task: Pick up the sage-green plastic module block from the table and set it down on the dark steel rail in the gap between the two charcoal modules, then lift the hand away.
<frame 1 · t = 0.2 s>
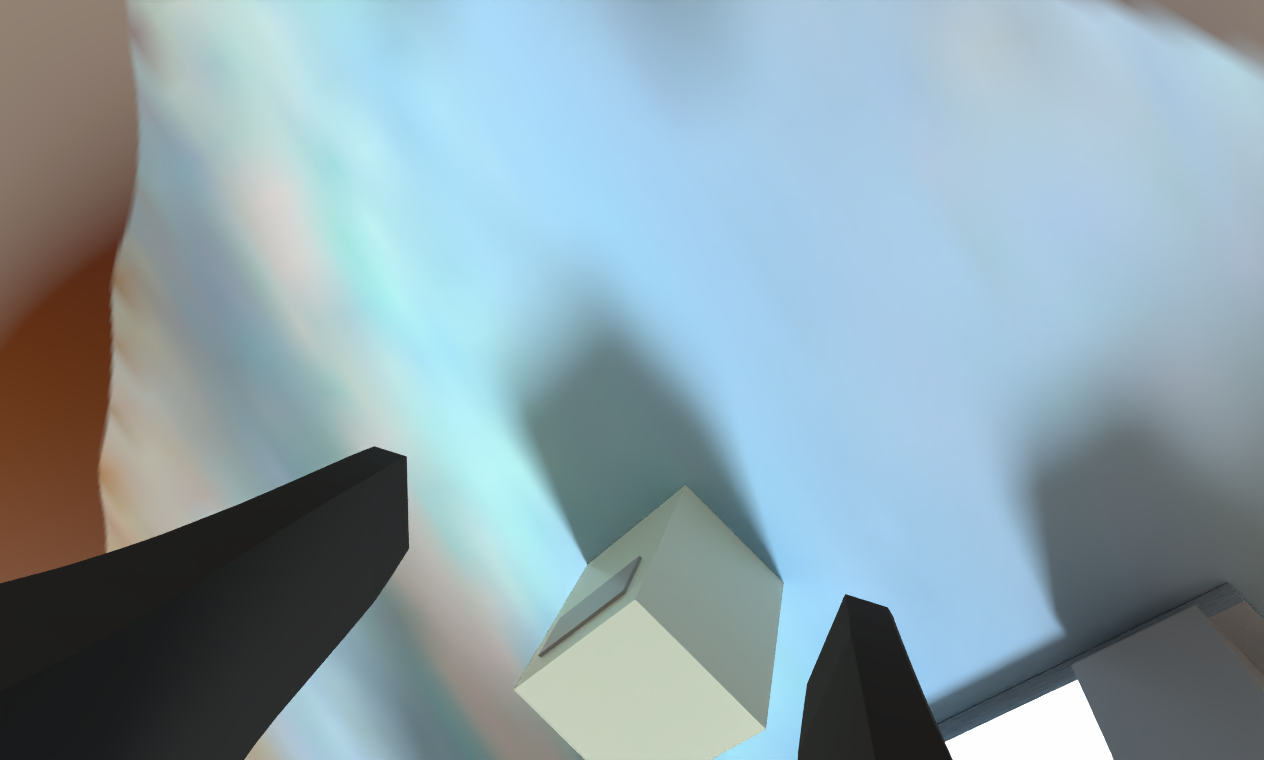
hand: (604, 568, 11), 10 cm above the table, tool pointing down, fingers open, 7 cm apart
module block: (681, 572, 23), on the table
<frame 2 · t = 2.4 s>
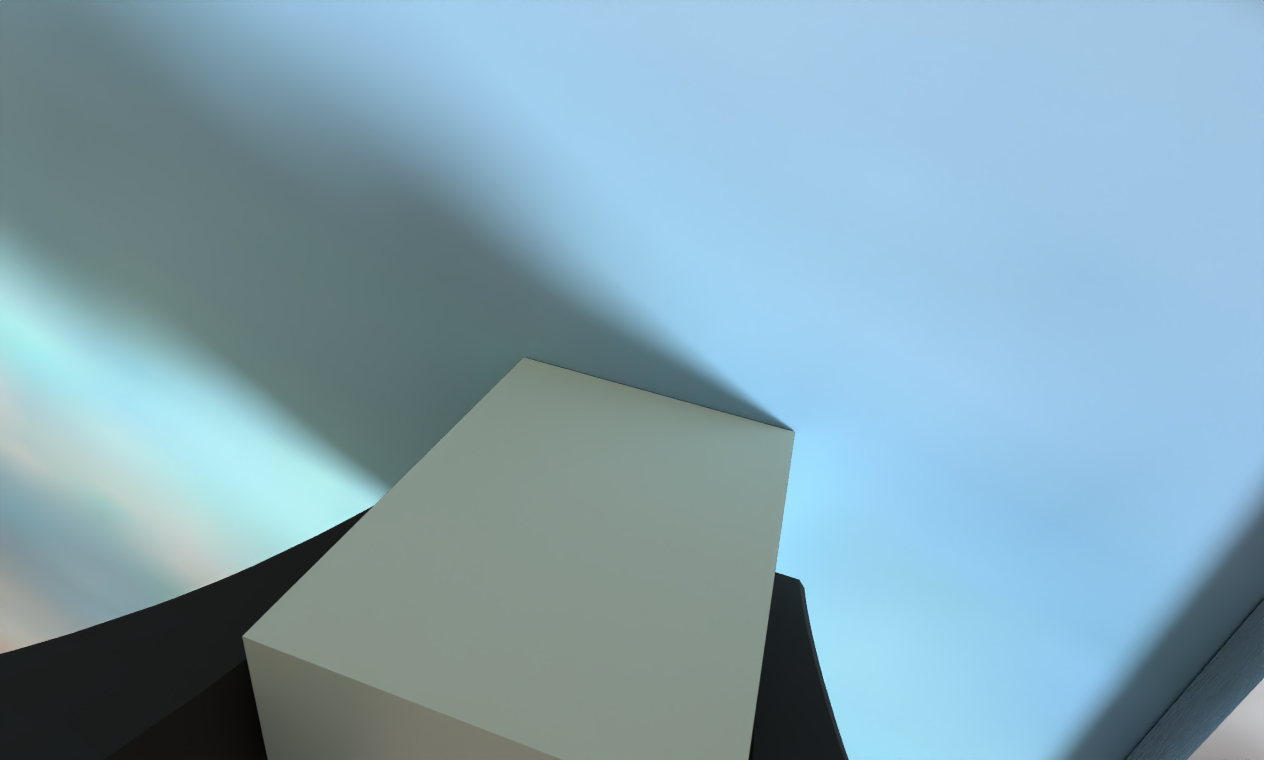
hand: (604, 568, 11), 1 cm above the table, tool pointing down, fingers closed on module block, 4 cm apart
module block: (631, 513, 12), on the table, touching gripper
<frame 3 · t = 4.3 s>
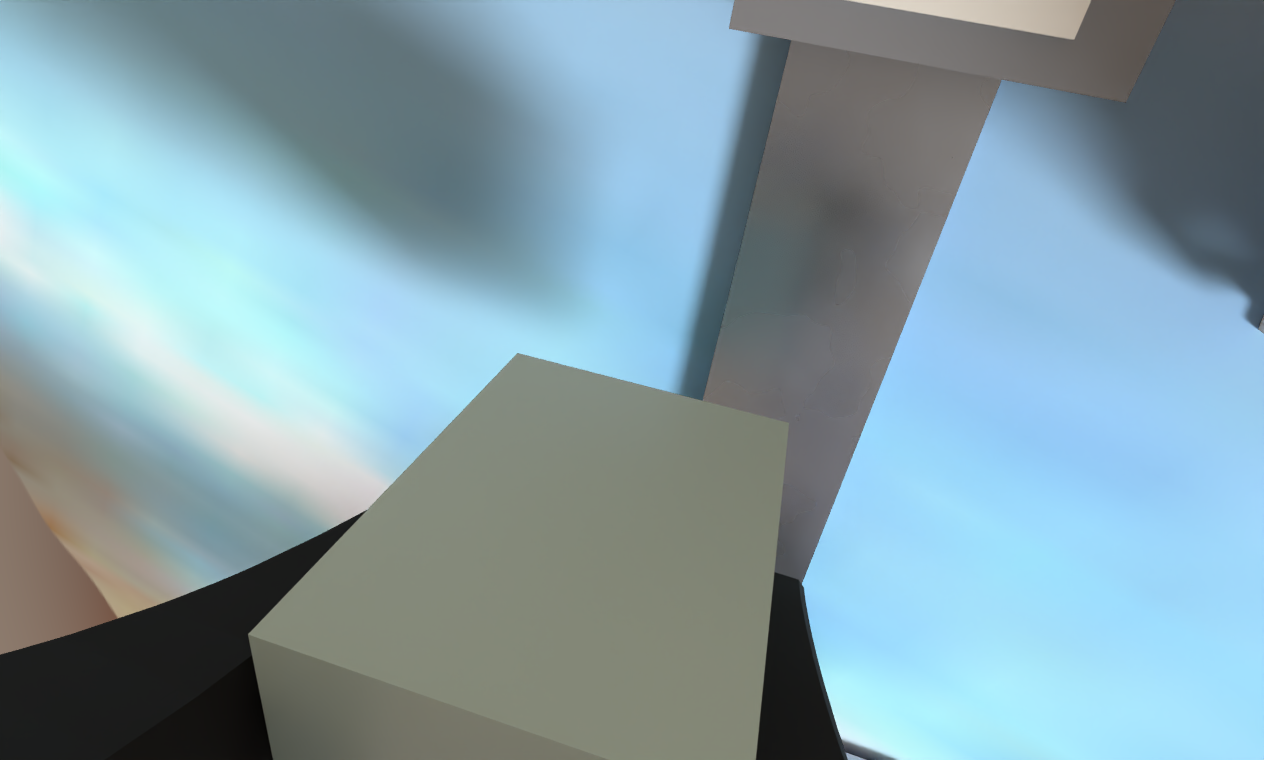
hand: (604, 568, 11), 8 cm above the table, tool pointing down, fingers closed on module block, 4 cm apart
steel rail: (791, 374, 17), on the table
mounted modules: (779, 443, 14), on the steel rail, point 3 cm above the table
module block: (627, 507, 12), point 7 cm above the table, touching gripper
when the fingers open (4 cm above the table, at t = 6.2 s): module block drops 1 cm, resting on steel rail.
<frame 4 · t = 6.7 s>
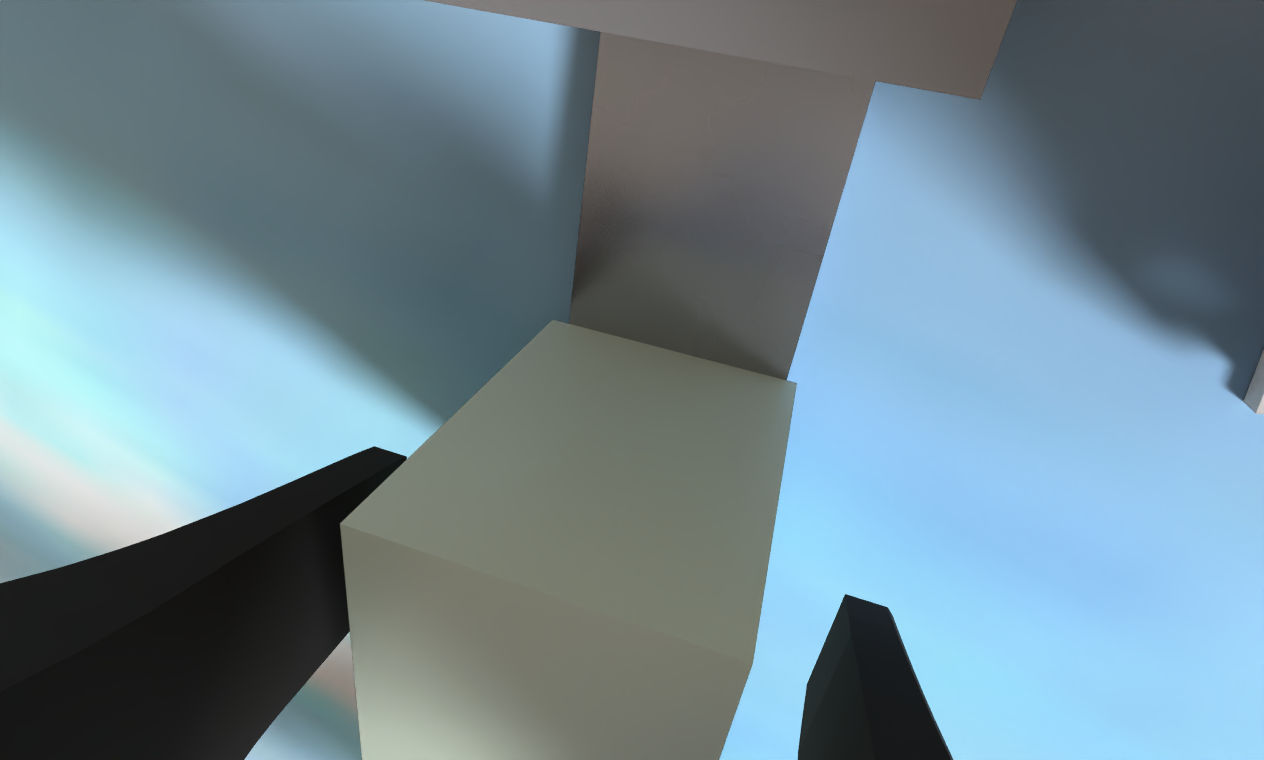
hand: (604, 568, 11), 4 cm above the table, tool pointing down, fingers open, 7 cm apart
steel rail: (661, 445, 14), on the table
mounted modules: (610, 555, 11), on the steel rail, point 3 cm above the table
module block: (648, 463, 13), point 1 cm above the table, touching steel rail
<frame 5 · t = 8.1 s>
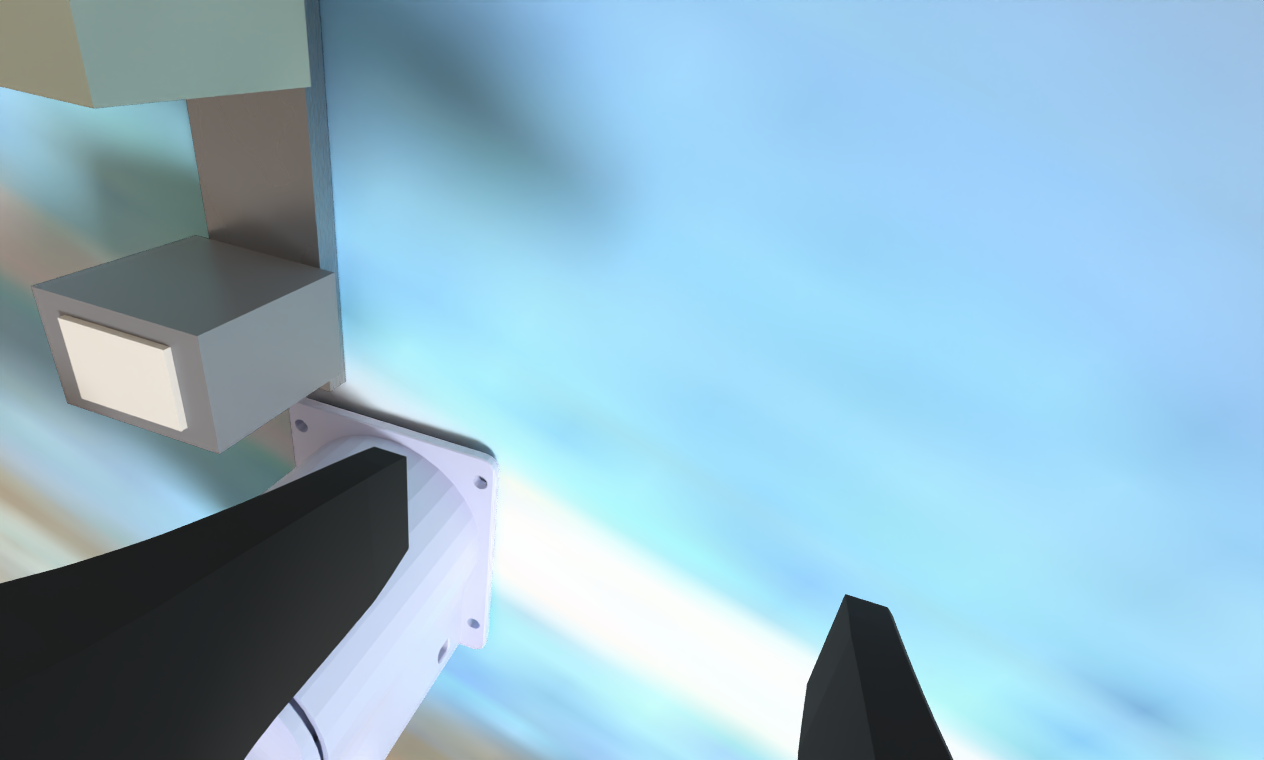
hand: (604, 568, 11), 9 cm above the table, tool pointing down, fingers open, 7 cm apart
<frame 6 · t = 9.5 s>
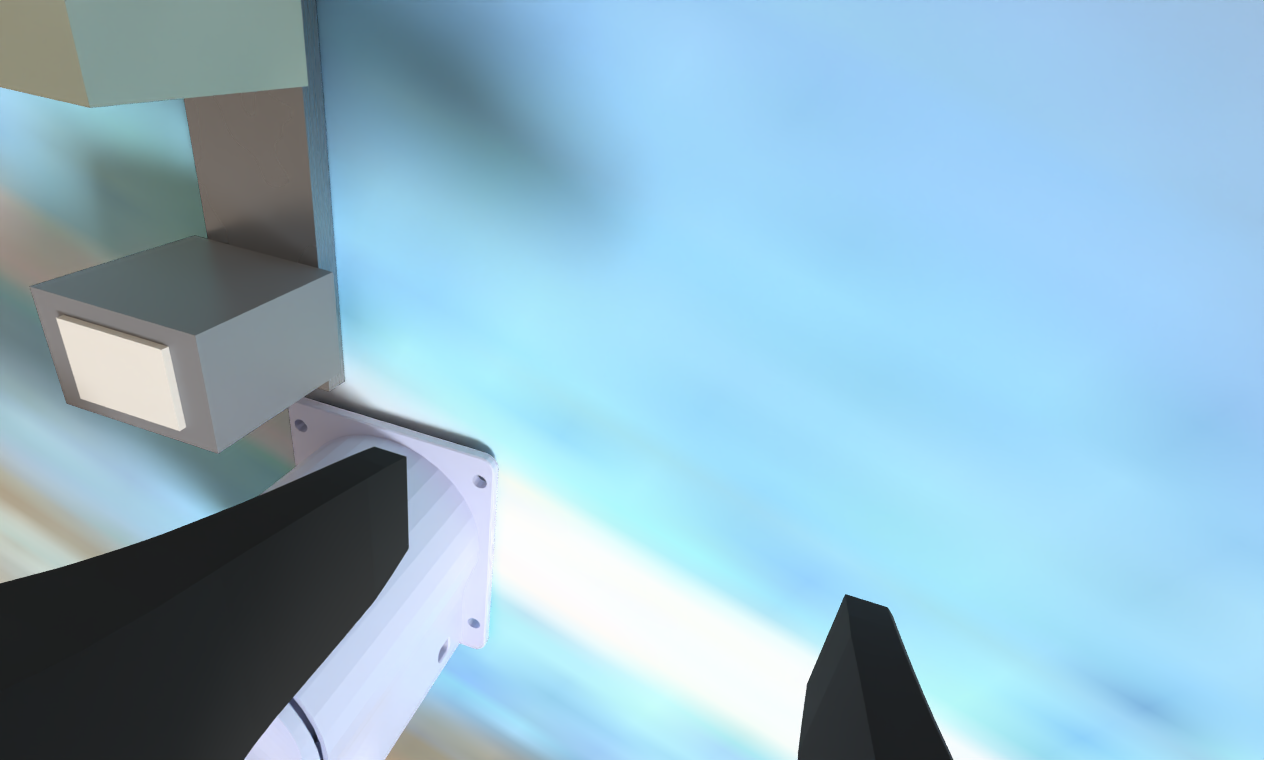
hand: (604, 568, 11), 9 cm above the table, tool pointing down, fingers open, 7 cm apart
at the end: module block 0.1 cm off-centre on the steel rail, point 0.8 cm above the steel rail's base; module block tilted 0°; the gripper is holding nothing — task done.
